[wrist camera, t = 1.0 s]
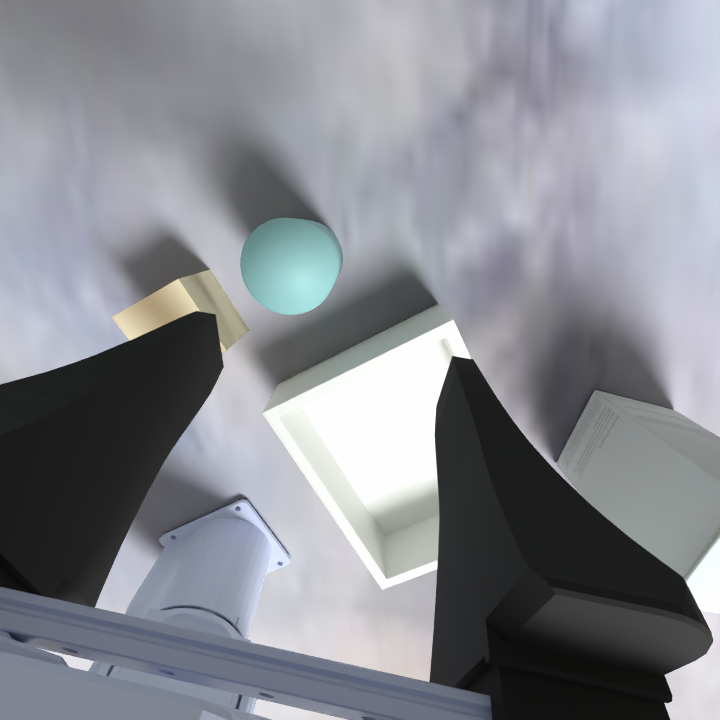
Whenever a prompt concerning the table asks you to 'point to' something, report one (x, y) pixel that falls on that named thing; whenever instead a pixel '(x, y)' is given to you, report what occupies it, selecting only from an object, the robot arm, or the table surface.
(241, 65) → the table surface
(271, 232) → the teal cylinder
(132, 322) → the maple cube
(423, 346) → the tote
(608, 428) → the supplement box
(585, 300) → the table surface
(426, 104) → the table surface
